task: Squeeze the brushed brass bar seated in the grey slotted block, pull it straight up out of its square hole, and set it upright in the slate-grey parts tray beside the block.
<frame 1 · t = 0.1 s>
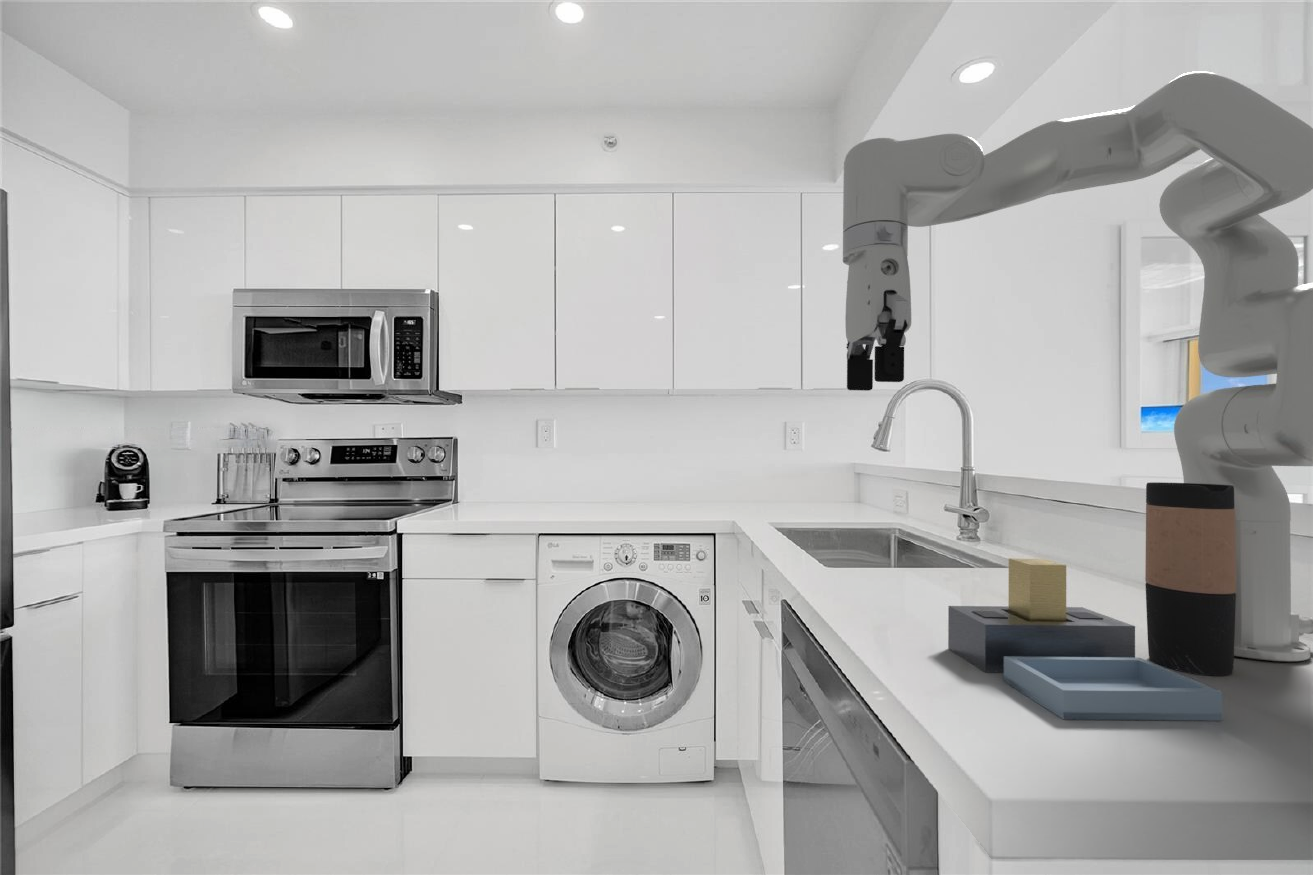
hand: (873, 386, 76), 31 cm above the counter, fingers open, 9 cm apart
parts tray: (1104, 699, 59), on the counter
travel mug: (1189, 666, 69), on the counter
grey slotted block: (1036, 660, 70), on the counter
brushed brass bar: (1036, 642, 70), point 2 cm above the counter, touching grey slotted block
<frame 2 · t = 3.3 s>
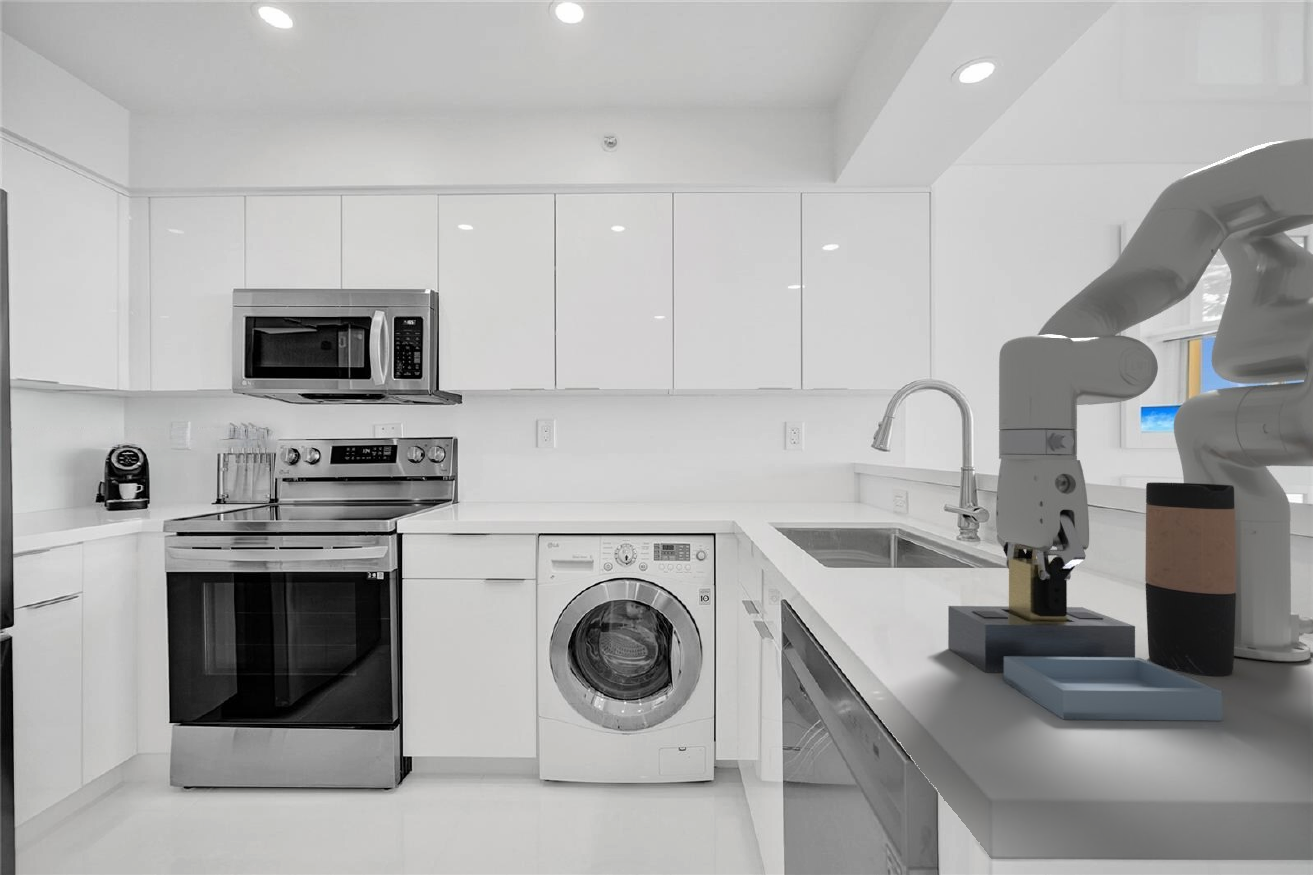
hand: (1036, 608, 70), 6 cm above the counter, fingers closed on brushed brass bar, 4 cm apart
brushed brass bar: (1036, 642, 70), point 2 cm above the counter, touching gripper, grey slotted block
everything else where it was.
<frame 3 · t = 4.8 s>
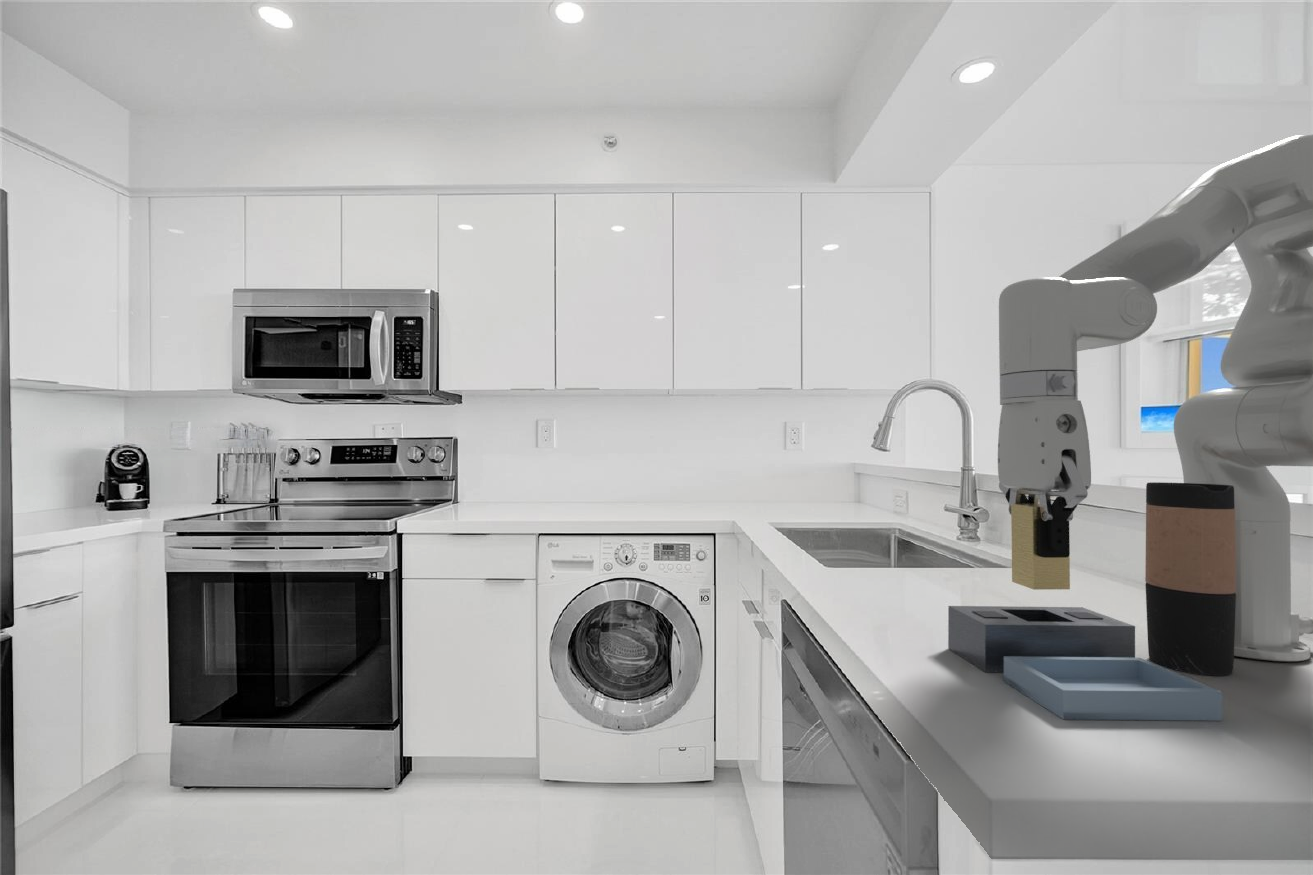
hand: (1039, 551, 70), 12 cm above the counter, fingers closed on brushed brass bar, 4 cm apart
brushed brass bar: (1040, 585, 70), point 8 cm above the counter, touching gripper
everything else where it was.
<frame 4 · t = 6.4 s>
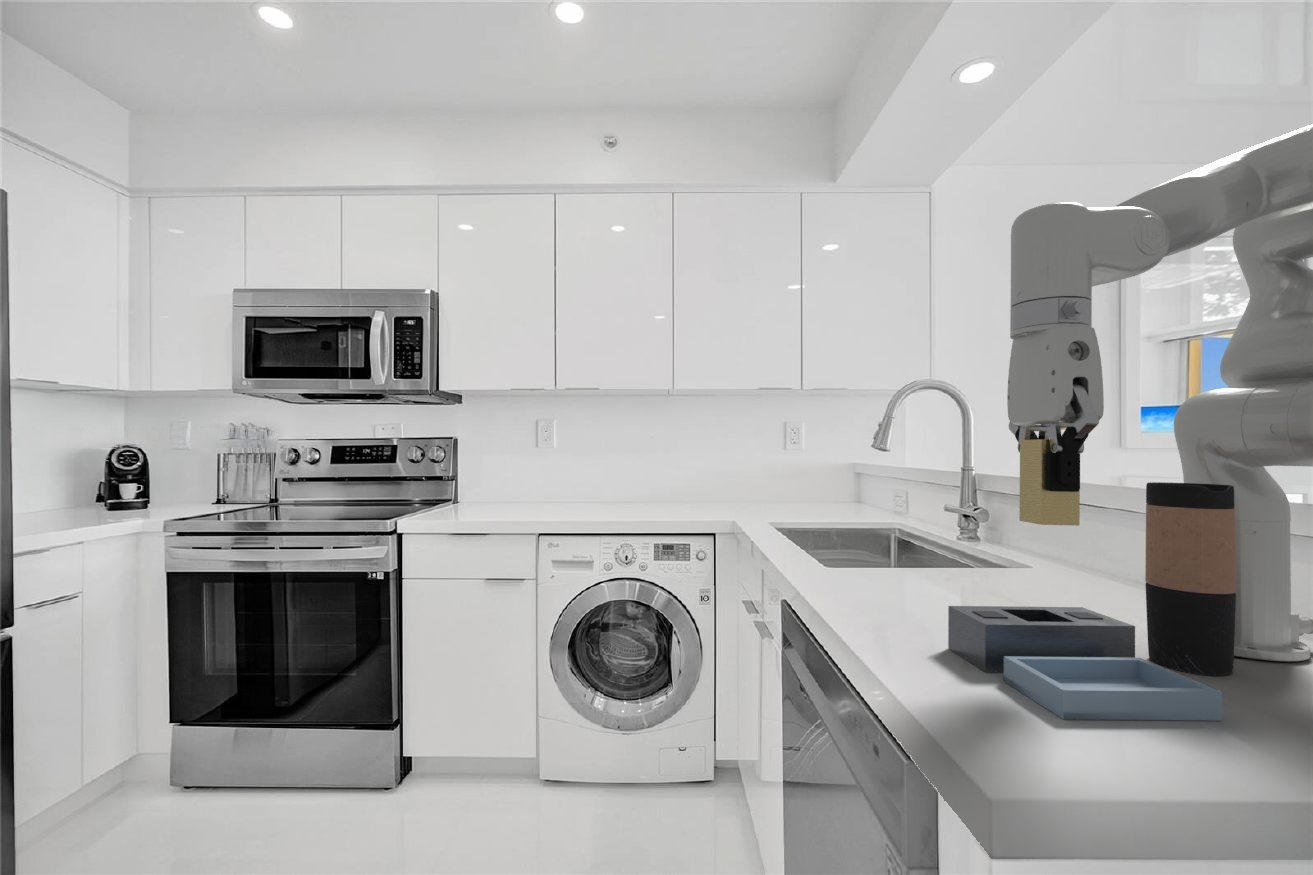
hand: (1049, 488, 68), 19 cm above the counter, fingers closed on brushed brass bar, 4 cm apart
brushed brass bar: (1048, 523, 68), point 16 cm above the counter, touching gripper
everything else where it was.
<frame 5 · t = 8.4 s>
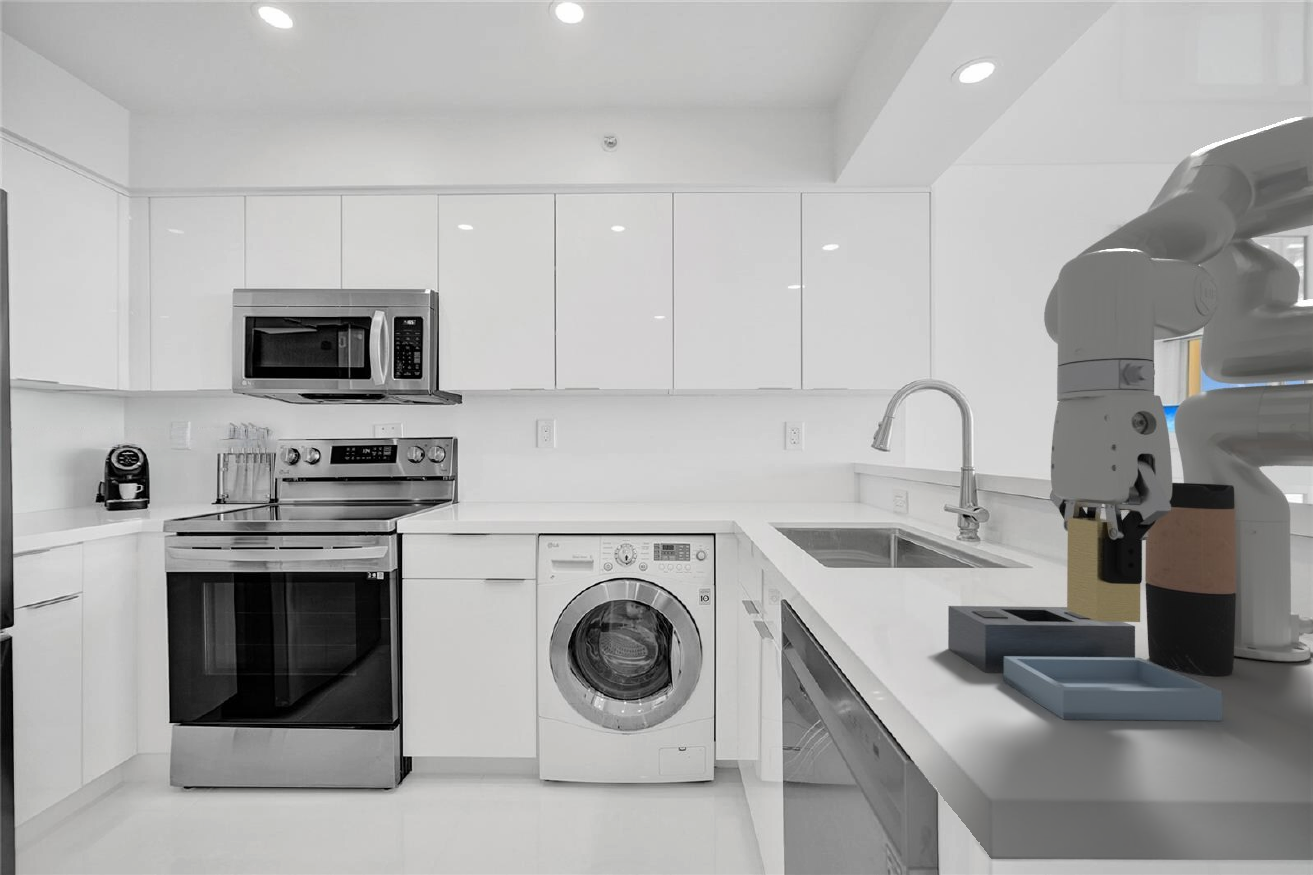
hand: (1103, 575, 59), 12 cm above the counter, fingers closed on brushed brass bar, 4 cm apart
brushed brass bar: (1102, 616, 59), point 8 cm above the counter, touching gripper
everything else where it was.
when the fingers open (6 cm above the counter, at t = 9.7 s): brushed brass bar drops 2 cm, resting on parts tray.
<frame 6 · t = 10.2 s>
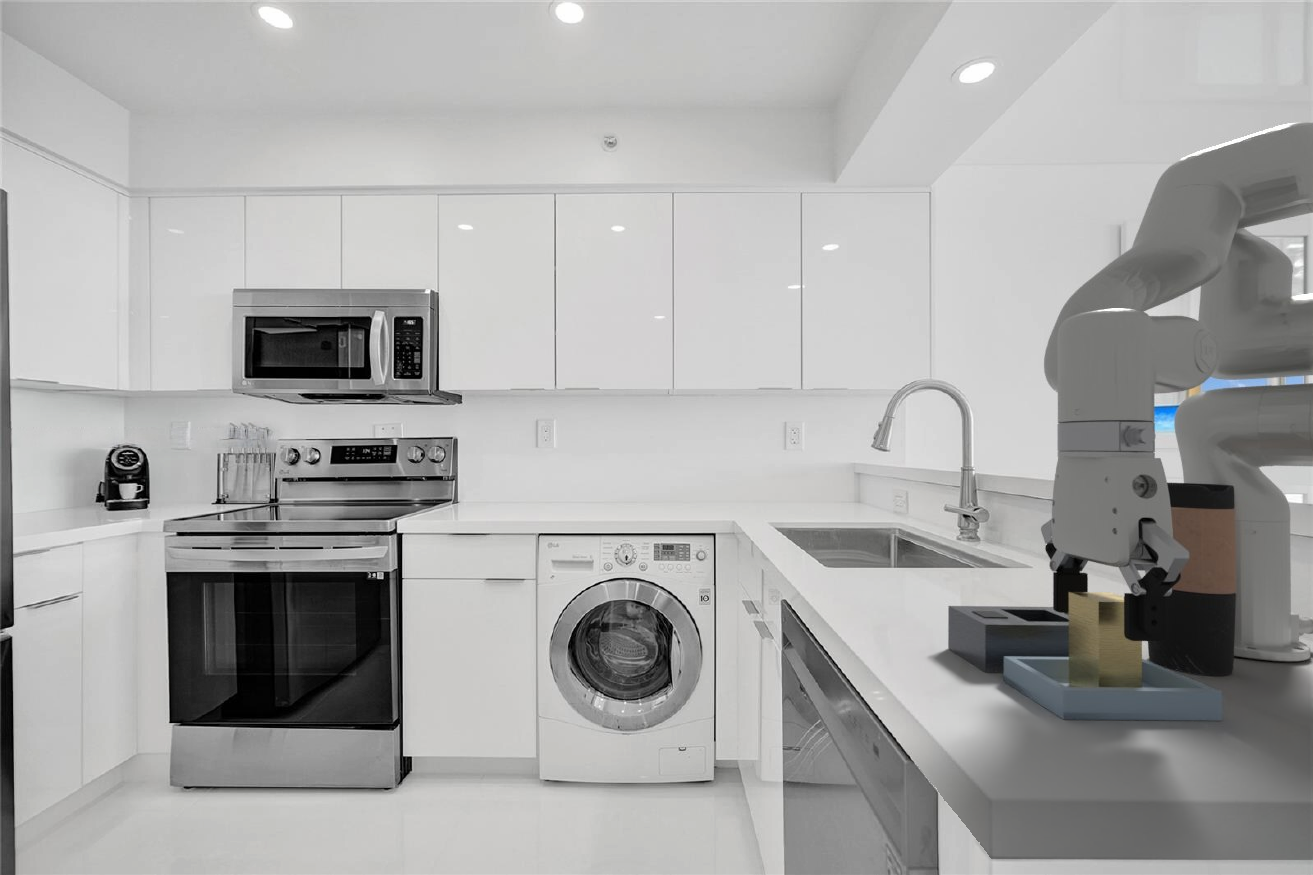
hand: (1104, 624, 59), 7 cm above the counter, fingers open, 9 cm apart
brushed brass bar: (1104, 692, 59), point 1 cm above the counter, touching parts tray
everything else where it was.
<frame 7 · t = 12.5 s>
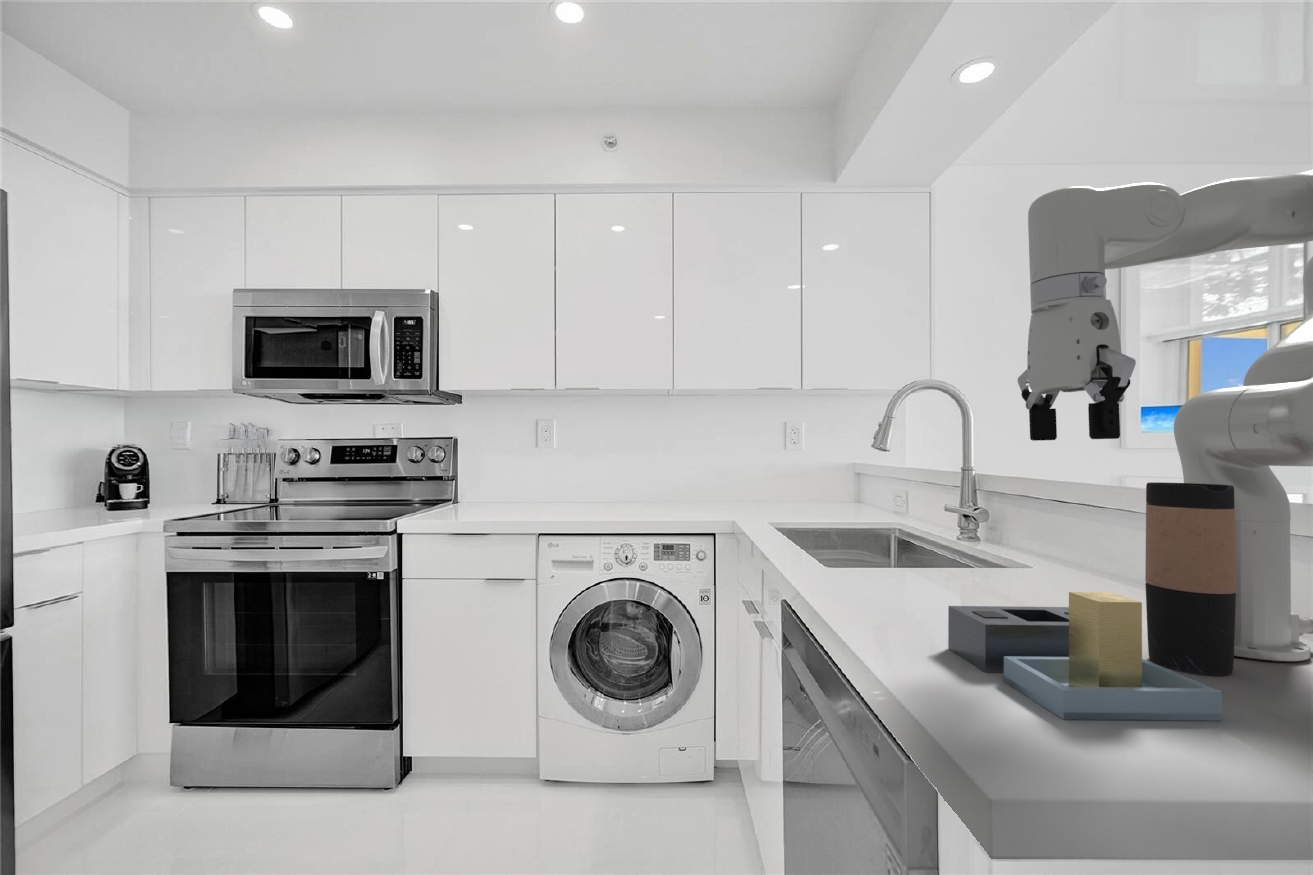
hand: (1072, 439, 74), 25 cm above the counter, fingers open, 9 cm apart
nothing on the counter moved.
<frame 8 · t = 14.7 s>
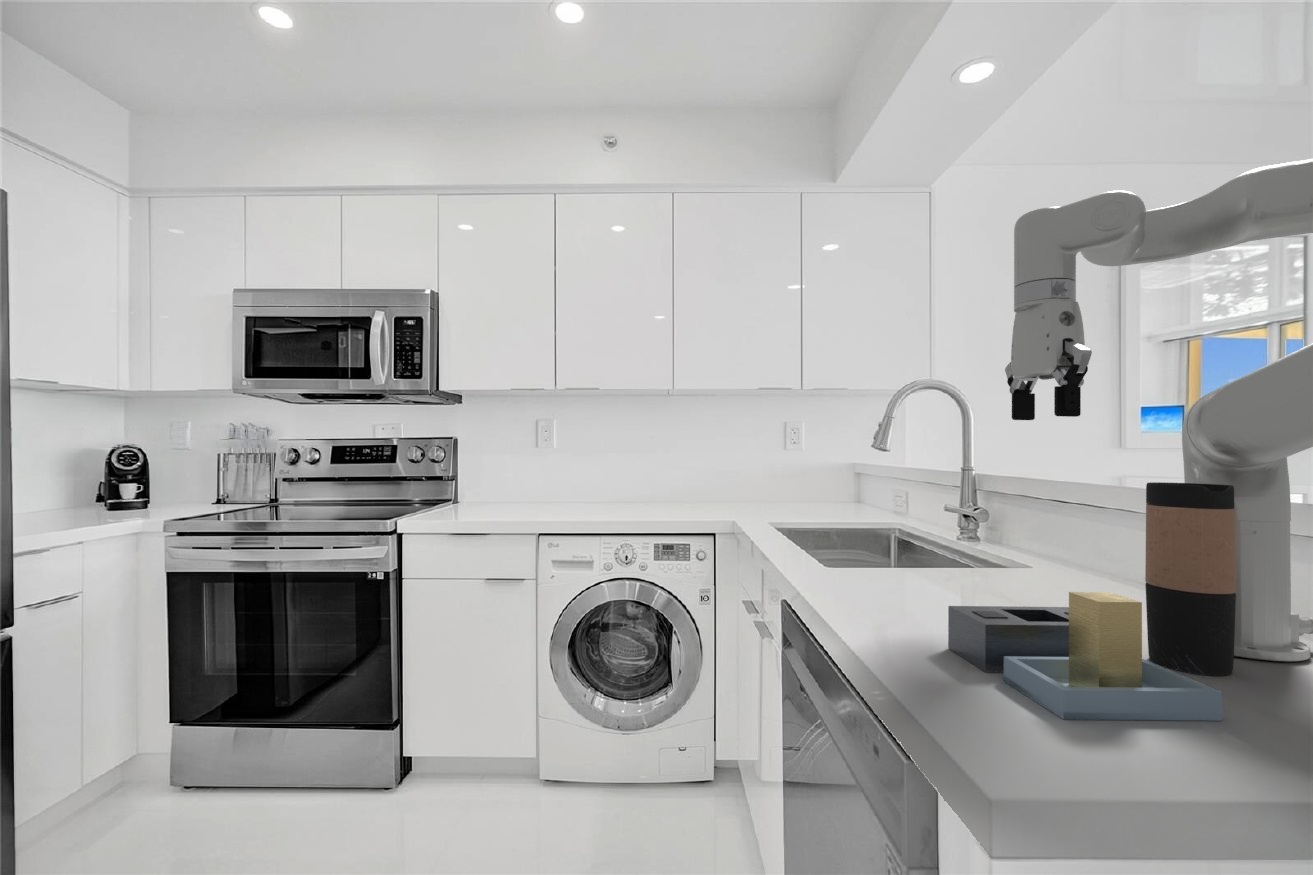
hand: (1044, 418, 89), 28 cm above the counter, fingers open, 9 cm apart
nothing on the counter moved.
at the end: brushed brass bar inside the target area on the parts tray (0.0 cm from its centre), point 0.6 cm above the parts tray's base; brushed brass bar tilted 0°; the gripper is holding nothing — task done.
